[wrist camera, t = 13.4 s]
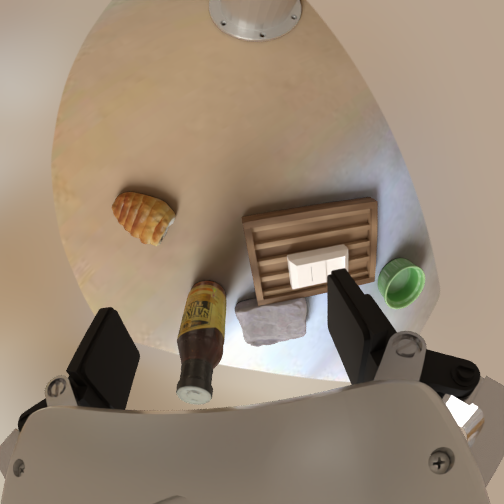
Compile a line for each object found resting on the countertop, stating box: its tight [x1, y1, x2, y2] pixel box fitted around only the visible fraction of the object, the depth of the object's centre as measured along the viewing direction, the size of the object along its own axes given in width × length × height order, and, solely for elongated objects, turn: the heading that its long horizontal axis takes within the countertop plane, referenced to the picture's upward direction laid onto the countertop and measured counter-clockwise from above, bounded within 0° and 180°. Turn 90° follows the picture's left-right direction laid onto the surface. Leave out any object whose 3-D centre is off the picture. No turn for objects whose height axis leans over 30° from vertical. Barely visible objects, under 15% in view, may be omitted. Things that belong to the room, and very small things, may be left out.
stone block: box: [235, 297, 307, 346], centre depth 46 cm, size 12×5×10 cm
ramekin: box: [378, 258, 425, 309], centre depth 44 cm, size 9×9×4 cm
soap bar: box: [287, 244, 348, 289], centre depth 40 cm, size 5×9×3 cm, turn 100°
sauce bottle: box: [176, 281, 226, 405], centre depth 35 cm, size 7×6×20 cm
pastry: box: [112, 192, 175, 246], centre depth 36 cm, size 9×7×4 cm
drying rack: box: [242, 197, 377, 306], centre depth 41 cm, size 14×20×2 cm
